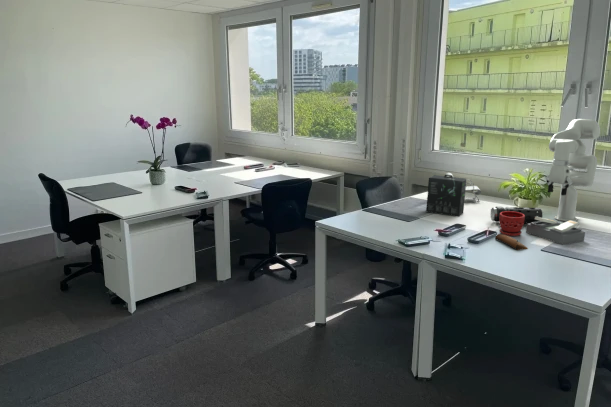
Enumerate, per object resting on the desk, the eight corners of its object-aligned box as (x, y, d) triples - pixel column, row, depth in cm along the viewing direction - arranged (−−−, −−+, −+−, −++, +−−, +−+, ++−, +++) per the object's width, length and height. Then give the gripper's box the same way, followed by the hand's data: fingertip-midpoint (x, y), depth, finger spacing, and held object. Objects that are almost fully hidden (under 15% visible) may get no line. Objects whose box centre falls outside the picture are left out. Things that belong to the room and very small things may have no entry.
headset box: (464, 213, 304) (467, 175, 298) (459, 217, 295) (462, 178, 288) (431, 208, 316) (433, 172, 310) (425, 212, 306) (427, 174, 300)
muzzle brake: (541, 225, 275) (543, 209, 272) (493, 224, 277) (495, 208, 275) (535, 221, 284) (537, 205, 281) (489, 220, 286) (490, 204, 284)
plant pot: (494, 230, 265) (496, 210, 263) (516, 230, 265) (519, 210, 262) (503, 237, 253) (505, 216, 250) (526, 237, 252) (529, 216, 249)
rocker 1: (548, 222, 263) (549, 219, 262) (556, 224, 258) (557, 221, 258) (534, 219, 258) (535, 216, 258) (541, 221, 253) (542, 218, 253)
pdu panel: (541, 227, 271) (542, 217, 269) (583, 241, 246) (585, 230, 244) (521, 230, 265) (522, 220, 264) (562, 244, 240) (564, 233, 239)
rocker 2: (570, 222, 250) (569, 219, 250) (578, 225, 246) (578, 222, 245) (554, 230, 247) (553, 227, 246) (562, 232, 242) (561, 230, 242)
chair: (443, 197, 350) (445, 172, 345) (477, 199, 345) (479, 173, 340) (444, 201, 337) (446, 175, 333) (480, 203, 332) (482, 176, 327)
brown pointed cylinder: (530, 248, 234) (525, 238, 232) (519, 256, 233) (514, 246, 231) (508, 238, 251) (503, 228, 249) (497, 245, 250) (493, 235, 248)
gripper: (579, 164, 246) (575, 196, 250) (552, 160, 261) (548, 190, 266) (569, 165, 243) (565, 197, 247) (542, 161, 259) (539, 191, 263)
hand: (556, 193), depth 256 cm, fingers open, 8 cm apart
